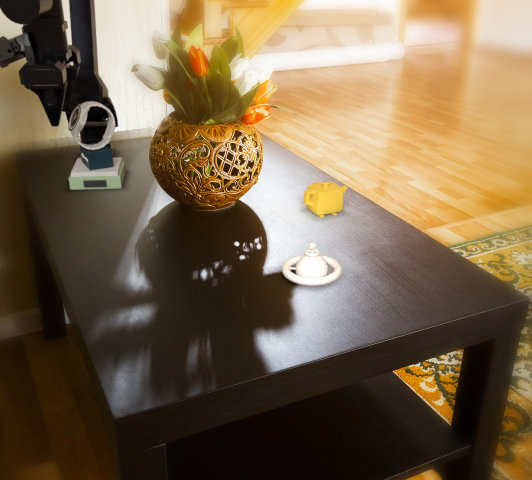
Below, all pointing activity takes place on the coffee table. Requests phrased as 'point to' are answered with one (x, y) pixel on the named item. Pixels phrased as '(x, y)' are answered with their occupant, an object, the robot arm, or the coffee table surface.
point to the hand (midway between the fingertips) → (60, 118)
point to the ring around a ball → (311, 268)
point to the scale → (97, 176)
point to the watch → (92, 153)
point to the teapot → (324, 198)
